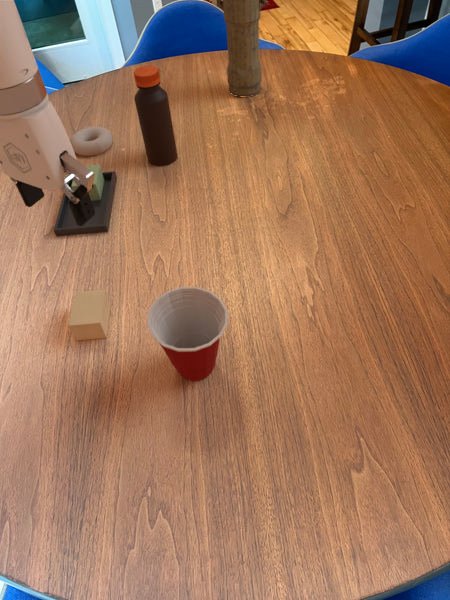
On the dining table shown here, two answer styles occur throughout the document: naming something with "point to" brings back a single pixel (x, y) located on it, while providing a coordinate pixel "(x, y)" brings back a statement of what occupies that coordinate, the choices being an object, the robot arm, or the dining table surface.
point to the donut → (91, 141)
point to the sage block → (98, 183)
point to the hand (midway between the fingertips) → (60, 210)
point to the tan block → (90, 315)
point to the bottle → (154, 117)
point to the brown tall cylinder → (243, 45)
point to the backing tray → (102, 209)
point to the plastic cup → (189, 329)
